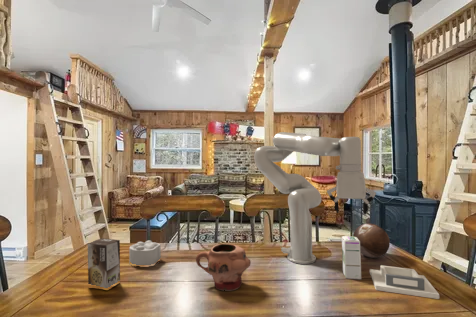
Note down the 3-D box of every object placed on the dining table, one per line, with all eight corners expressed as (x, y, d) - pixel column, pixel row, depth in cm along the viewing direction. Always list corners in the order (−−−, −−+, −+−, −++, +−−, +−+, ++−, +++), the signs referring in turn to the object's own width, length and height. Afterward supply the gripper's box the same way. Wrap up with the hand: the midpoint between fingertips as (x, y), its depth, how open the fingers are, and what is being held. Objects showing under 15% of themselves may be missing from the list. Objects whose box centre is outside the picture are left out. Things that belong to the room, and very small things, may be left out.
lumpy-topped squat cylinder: (151, 268, 107) (151, 247, 107) (123, 266, 109) (123, 246, 109) (163, 258, 117) (162, 239, 117) (137, 257, 119) (136, 238, 119)
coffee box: (121, 283, 94) (120, 239, 94) (106, 292, 88) (106, 245, 88) (102, 279, 97) (101, 237, 97) (87, 287, 91) (86, 242, 91)
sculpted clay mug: (191, 294, 86) (191, 252, 86) (198, 277, 98) (198, 241, 98) (251, 294, 85) (250, 253, 85) (250, 277, 97) (250, 241, 97)
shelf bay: (375, 289, 87) (375, 275, 87) (369, 272, 100) (369, 260, 100) (439, 299, 81) (439, 283, 81) (424, 279, 94) (423, 266, 94)
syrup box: (361, 279, 94) (361, 240, 94) (344, 278, 96) (344, 240, 96) (357, 273, 100) (357, 236, 100) (341, 271, 101) (341, 235, 101)
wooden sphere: (347, 256, 117) (347, 223, 117) (361, 248, 127) (360, 218, 128) (383, 266, 106) (382, 230, 106) (394, 256, 116) (394, 223, 116)
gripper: (326, 169, 97) (327, 213, 97) (377, 169, 92) (377, 216, 92) (326, 168, 105) (327, 209, 104) (373, 168, 99) (374, 212, 99)
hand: (350, 213), depth 98 cm, fingers open, 9 cm apart
